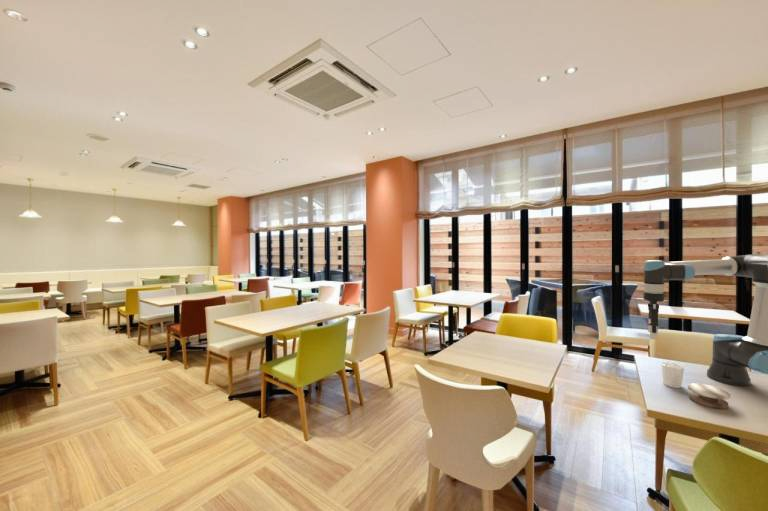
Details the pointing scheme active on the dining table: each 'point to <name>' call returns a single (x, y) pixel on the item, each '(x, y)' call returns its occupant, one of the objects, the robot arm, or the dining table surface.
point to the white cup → (672, 374)
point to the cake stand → (708, 396)
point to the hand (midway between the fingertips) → (652, 335)
